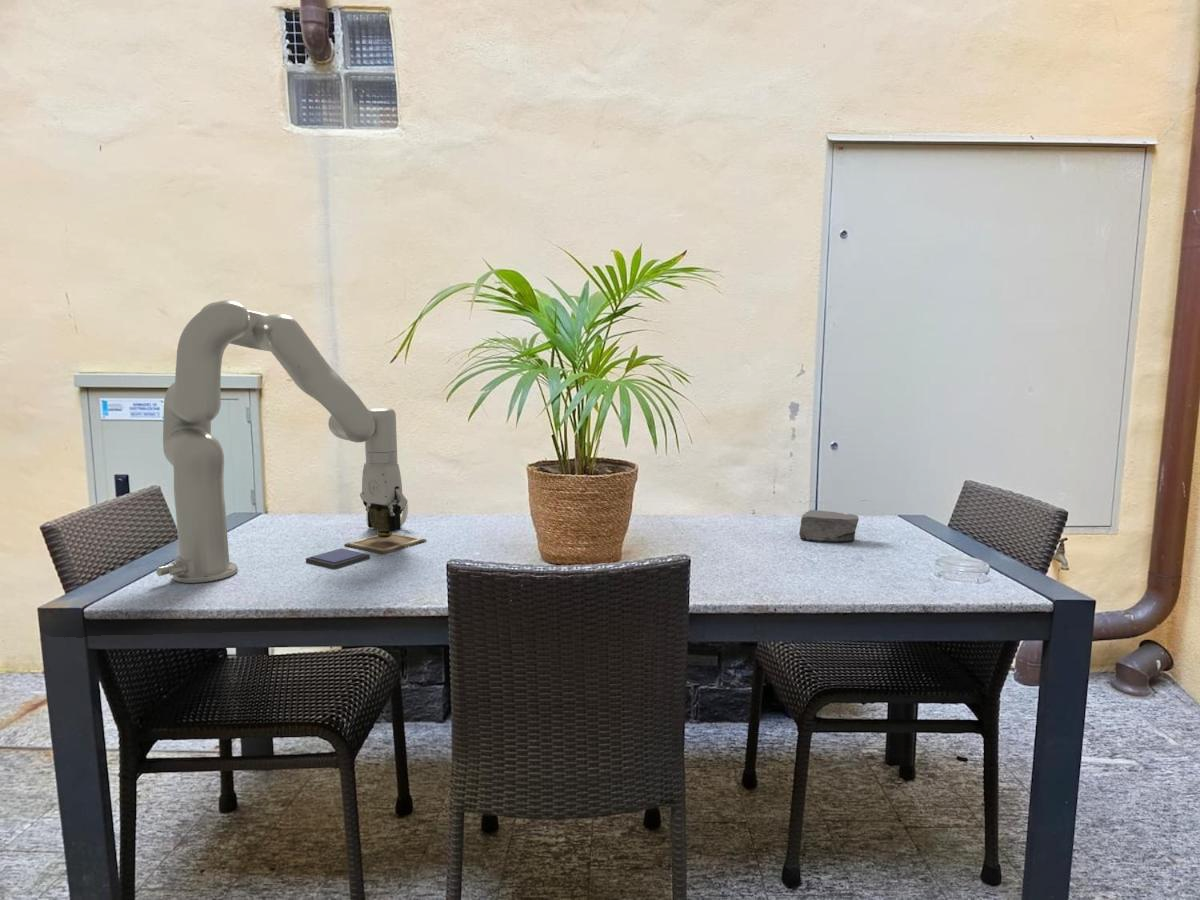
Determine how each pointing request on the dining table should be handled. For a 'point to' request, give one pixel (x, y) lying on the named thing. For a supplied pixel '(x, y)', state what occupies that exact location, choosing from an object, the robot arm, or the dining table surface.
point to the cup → (380, 520)
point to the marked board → (385, 543)
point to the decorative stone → (828, 527)
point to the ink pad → (337, 558)
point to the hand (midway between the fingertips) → (384, 528)
